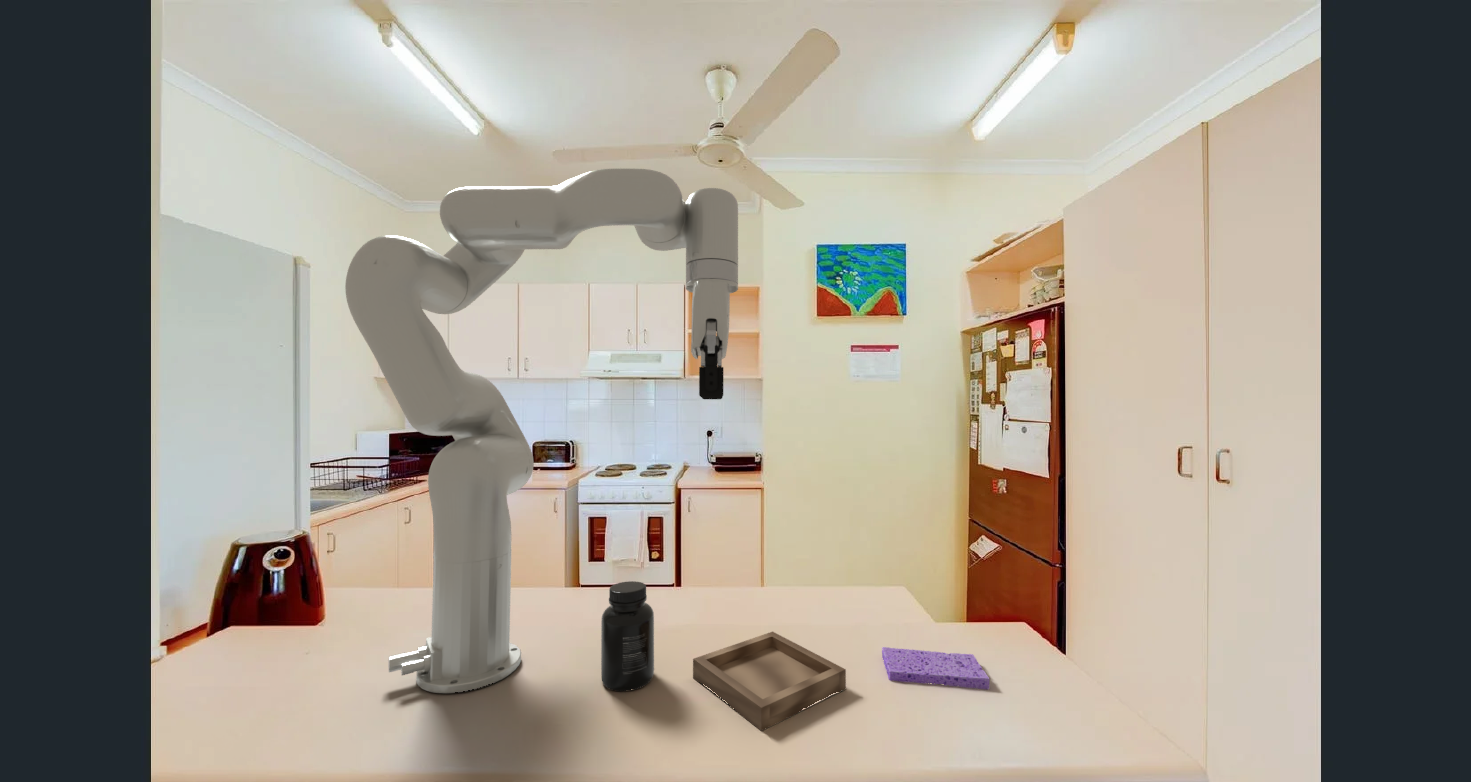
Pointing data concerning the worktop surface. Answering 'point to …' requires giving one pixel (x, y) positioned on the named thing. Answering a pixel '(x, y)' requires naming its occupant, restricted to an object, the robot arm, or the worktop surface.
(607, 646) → the supplement bottle
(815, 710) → the worktop surface
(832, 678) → the walnut tray
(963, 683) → the sponges
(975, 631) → the worktop surface
